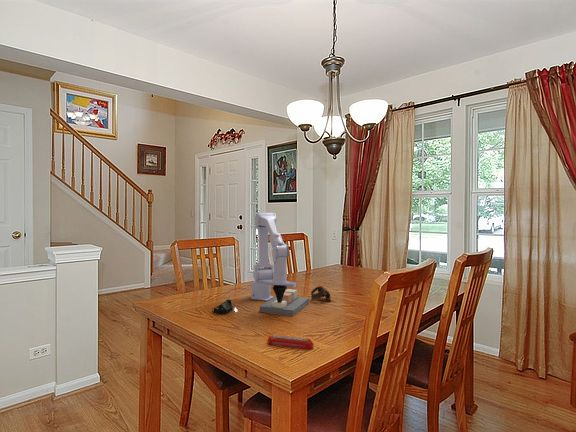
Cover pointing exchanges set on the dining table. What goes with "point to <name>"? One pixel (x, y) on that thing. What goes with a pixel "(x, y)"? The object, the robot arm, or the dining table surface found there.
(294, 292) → the sage key
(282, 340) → the candy bar
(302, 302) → the grey rectangular frame
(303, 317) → the dining table surface
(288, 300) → the terracotta key
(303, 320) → the dining table surface
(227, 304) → the black lumpy piece
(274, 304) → the cream key
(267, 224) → the robot arm
